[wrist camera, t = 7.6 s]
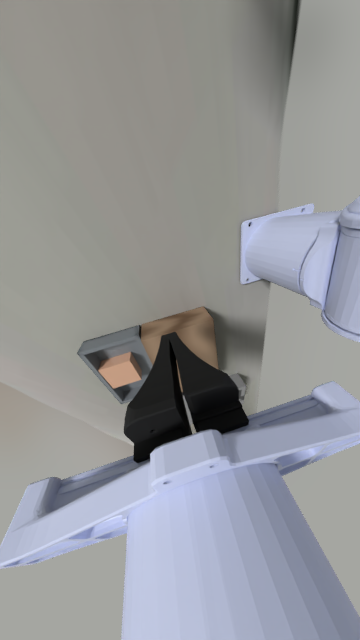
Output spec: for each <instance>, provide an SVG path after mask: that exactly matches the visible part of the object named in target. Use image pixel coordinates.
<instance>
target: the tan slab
mask: <svg viewBox="0 0 360 640" xmlns="http://www.w3.org/2000/svg"><path fill="white" fill-rule="evenodd" d="M172 332H176V333H177V335H178V336H179V338H180V339H181V341H182V342H183V343H184V344H185V345H186V346H187V347H188V348H189V349H190V350H191V351H192V352H193V353H194V354H195V355H197V356H198V357H199V358H200V359H202V360H203V361H205V362H206V363H208V364H209V365H211V366H213V367H215V368H216V369H218V360H217V350H216V341H215V331H214V321H213V318H212V317H211V316H210V314H209V313H208V312H207V310H206V309H205V308H204V307H199V308H196V309H193V310H189V311H186V312H183V313H179V314H176V315H172V316H169V317H166V318H162V319H159V320H155V321H152V322H149V323H145V324H142V327H141V342H142V344H143V346H144V348H145V350H146V352H147V354H148V356H149V359H150V361H151V363H152V365H153V364H154V361H155V359H156V356H157V353H158V349H159V345H160V340H161V336H162V335H165V334H169V333H172ZM176 362H177V360H176ZM177 368H178V364H177ZM218 370H219V369H218ZM178 375H179V382H180V387H181V391H182V392H183V390H182V384H181V379H180V374H179V369H178Z"/></svg>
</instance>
